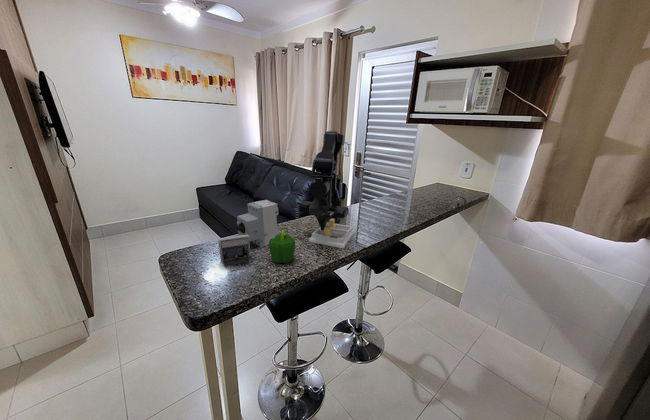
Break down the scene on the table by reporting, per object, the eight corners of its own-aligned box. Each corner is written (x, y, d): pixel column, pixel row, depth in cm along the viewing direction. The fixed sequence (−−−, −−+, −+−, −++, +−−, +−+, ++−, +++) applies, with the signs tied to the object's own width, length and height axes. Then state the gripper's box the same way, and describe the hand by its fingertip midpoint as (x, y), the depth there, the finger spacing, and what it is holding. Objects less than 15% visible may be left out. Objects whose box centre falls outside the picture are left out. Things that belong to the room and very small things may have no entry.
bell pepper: (286, 269, 78) (285, 239, 75) (265, 262, 82) (263, 234, 78) (300, 257, 85) (300, 230, 82) (280, 251, 89) (279, 225, 86)
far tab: (327, 230, 105) (327, 220, 103) (329, 227, 107) (329, 217, 106) (333, 231, 104) (334, 221, 102) (336, 228, 106) (336, 219, 105)
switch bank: (309, 241, 97) (309, 234, 96) (324, 227, 111) (324, 220, 110) (343, 248, 92) (344, 240, 91) (354, 232, 106) (355, 225, 105)
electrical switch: (250, 255, 86) (248, 231, 82) (252, 264, 81) (250, 239, 78) (220, 260, 82) (217, 236, 78) (221, 270, 78) (218, 244, 74)
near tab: (322, 238, 97) (322, 227, 96) (325, 235, 100) (325, 224, 98) (329, 239, 96) (330, 228, 95) (332, 236, 99) (332, 226, 97)
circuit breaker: (235, 245, 92) (231, 206, 88) (268, 234, 102) (266, 199, 97) (245, 252, 87) (242, 212, 83) (279, 240, 97) (278, 203, 92)
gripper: (290, 193, 89) (291, 233, 94) (340, 199, 83) (338, 242, 87) (304, 186, 99) (304, 223, 104) (350, 192, 92) (348, 231, 97)
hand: (322, 230), depth 98 cm, fingers closed
